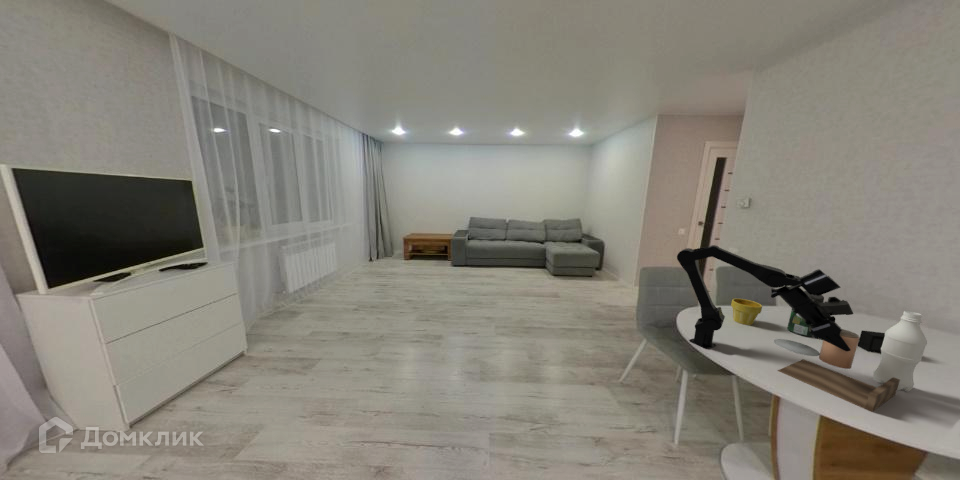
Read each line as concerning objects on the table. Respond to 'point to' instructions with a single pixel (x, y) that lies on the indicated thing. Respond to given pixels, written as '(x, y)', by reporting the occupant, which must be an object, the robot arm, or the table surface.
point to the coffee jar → (798, 323)
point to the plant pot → (745, 311)
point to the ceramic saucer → (796, 347)
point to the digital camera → (871, 341)
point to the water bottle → (901, 351)
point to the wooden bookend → (842, 384)
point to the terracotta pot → (840, 351)
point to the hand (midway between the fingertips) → (846, 346)
